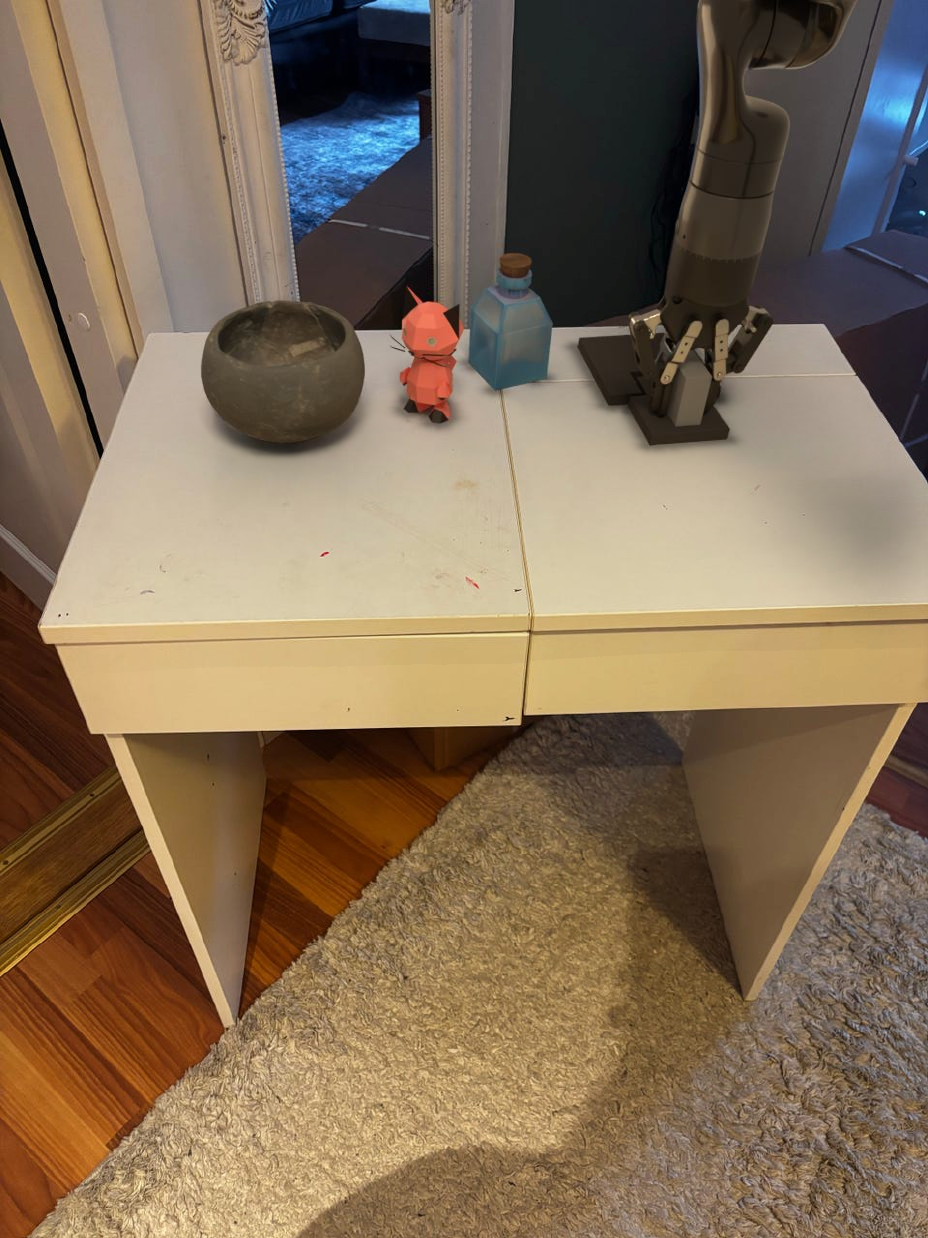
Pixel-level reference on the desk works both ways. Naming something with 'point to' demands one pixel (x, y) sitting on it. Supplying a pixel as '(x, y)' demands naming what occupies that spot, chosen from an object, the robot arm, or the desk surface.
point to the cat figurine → (429, 354)
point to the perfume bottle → (510, 328)
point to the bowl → (283, 370)
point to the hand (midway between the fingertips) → (680, 409)
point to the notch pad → (616, 365)
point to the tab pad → (665, 426)
